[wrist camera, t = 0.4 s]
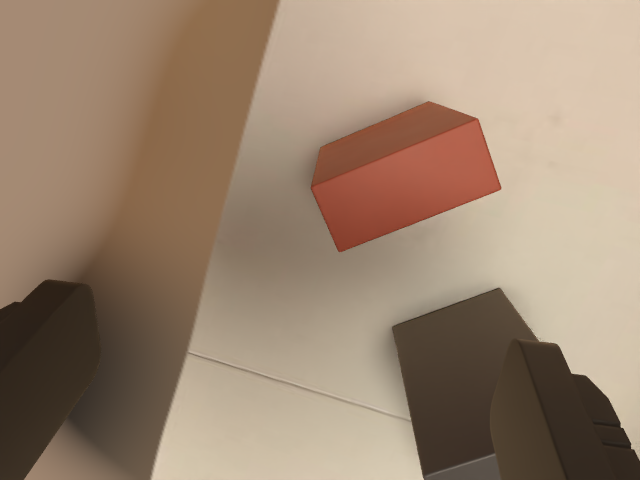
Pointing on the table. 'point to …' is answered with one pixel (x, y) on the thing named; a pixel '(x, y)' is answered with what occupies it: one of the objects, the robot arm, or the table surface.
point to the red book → (401, 173)
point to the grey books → (457, 382)
